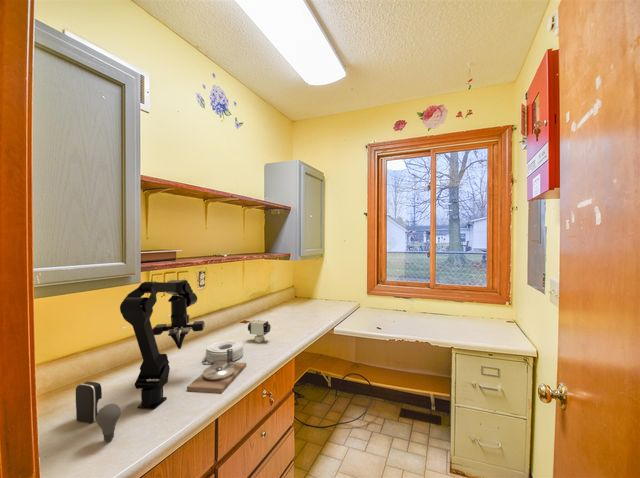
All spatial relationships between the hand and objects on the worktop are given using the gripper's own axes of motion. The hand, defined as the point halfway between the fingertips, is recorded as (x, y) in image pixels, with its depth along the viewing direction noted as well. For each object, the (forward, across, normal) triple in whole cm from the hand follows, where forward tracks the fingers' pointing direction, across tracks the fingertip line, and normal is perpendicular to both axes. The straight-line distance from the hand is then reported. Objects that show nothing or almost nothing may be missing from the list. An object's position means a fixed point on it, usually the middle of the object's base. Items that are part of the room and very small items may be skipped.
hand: (179, 348), depth 116 cm
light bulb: (+12, +11, +34) cm, 38 cm away
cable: (+12, -16, -17) cm, 26 cm away
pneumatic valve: (+12, -33, -33) cm, 48 cm away
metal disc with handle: (+10, -16, +3) cm, 19 cm away
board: (+12, -16, +4) cm, 20 cm away
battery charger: (+12, +22, +21) cm, 33 cm away
